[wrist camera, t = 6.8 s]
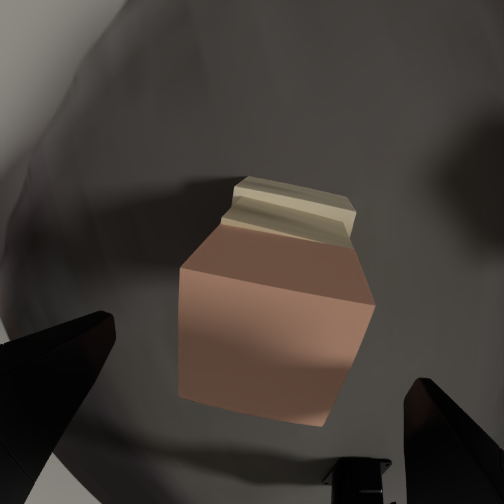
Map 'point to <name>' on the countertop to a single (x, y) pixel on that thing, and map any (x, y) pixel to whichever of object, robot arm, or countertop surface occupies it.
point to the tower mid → (286, 222)
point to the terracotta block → (269, 324)
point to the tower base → (298, 199)
